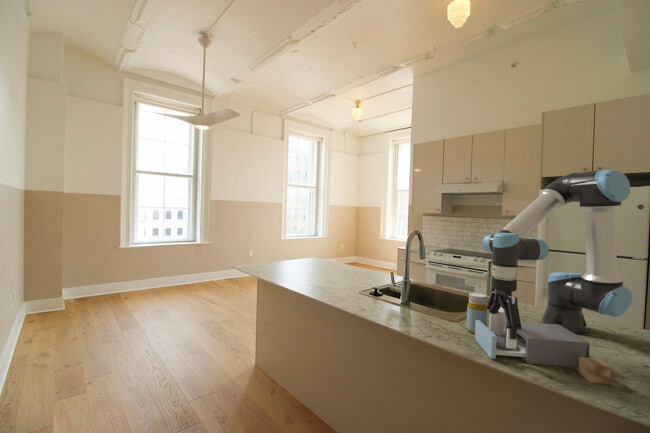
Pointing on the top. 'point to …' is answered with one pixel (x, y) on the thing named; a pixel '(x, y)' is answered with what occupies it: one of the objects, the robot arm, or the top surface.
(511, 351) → the light blue drawer
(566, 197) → the robot arm
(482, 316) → the bottle
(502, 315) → the smoothie
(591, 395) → the top surface
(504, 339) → the disc
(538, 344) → the housing
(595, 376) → the block
